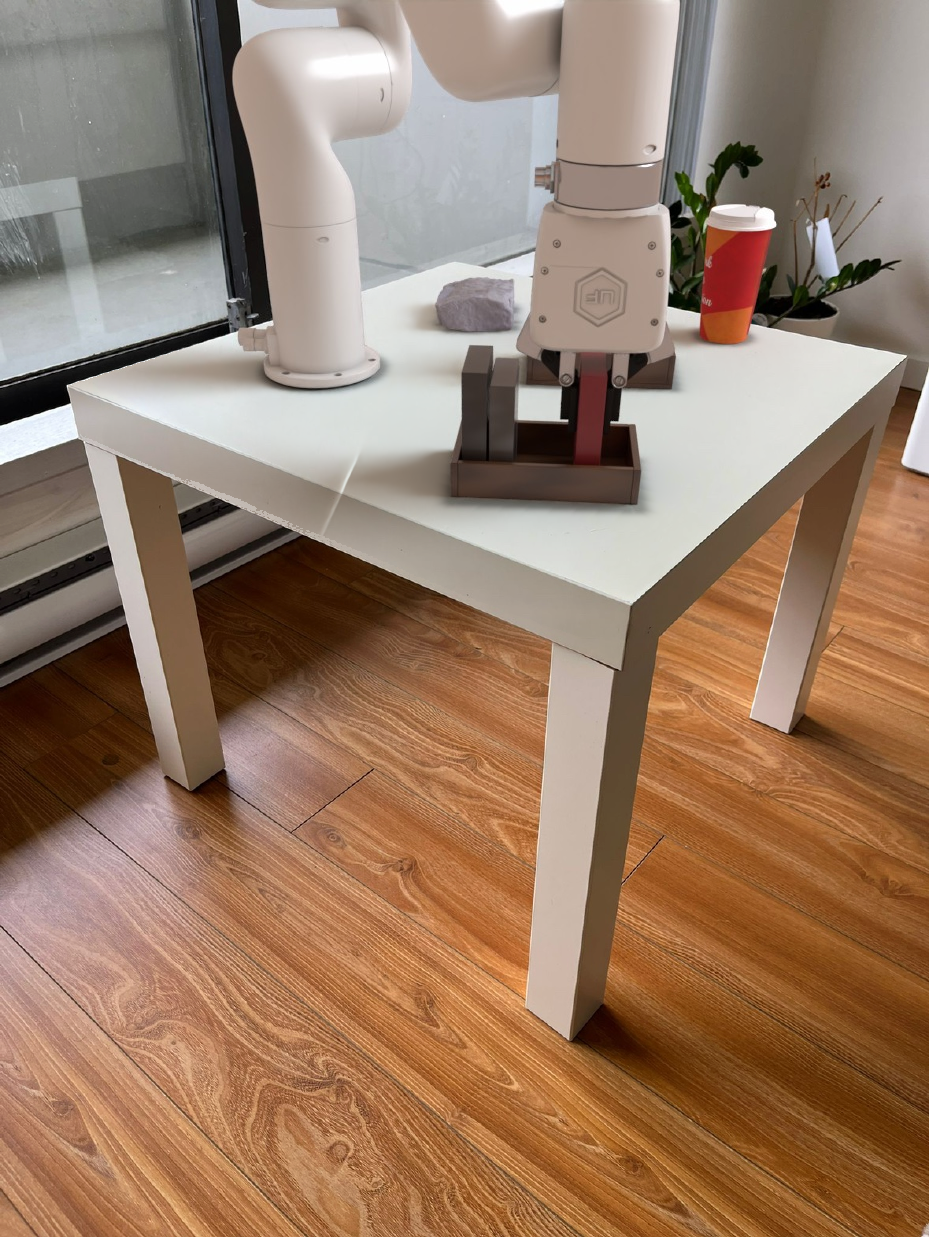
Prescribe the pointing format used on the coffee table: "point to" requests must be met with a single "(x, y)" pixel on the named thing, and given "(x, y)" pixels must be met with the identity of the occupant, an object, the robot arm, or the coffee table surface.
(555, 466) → the brown crate
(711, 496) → the coffee table surface
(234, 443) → the coffee table surface
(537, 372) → the brown open box
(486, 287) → the stone block
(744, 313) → the paper cup
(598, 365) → the burgundy book
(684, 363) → the coffee table surface
